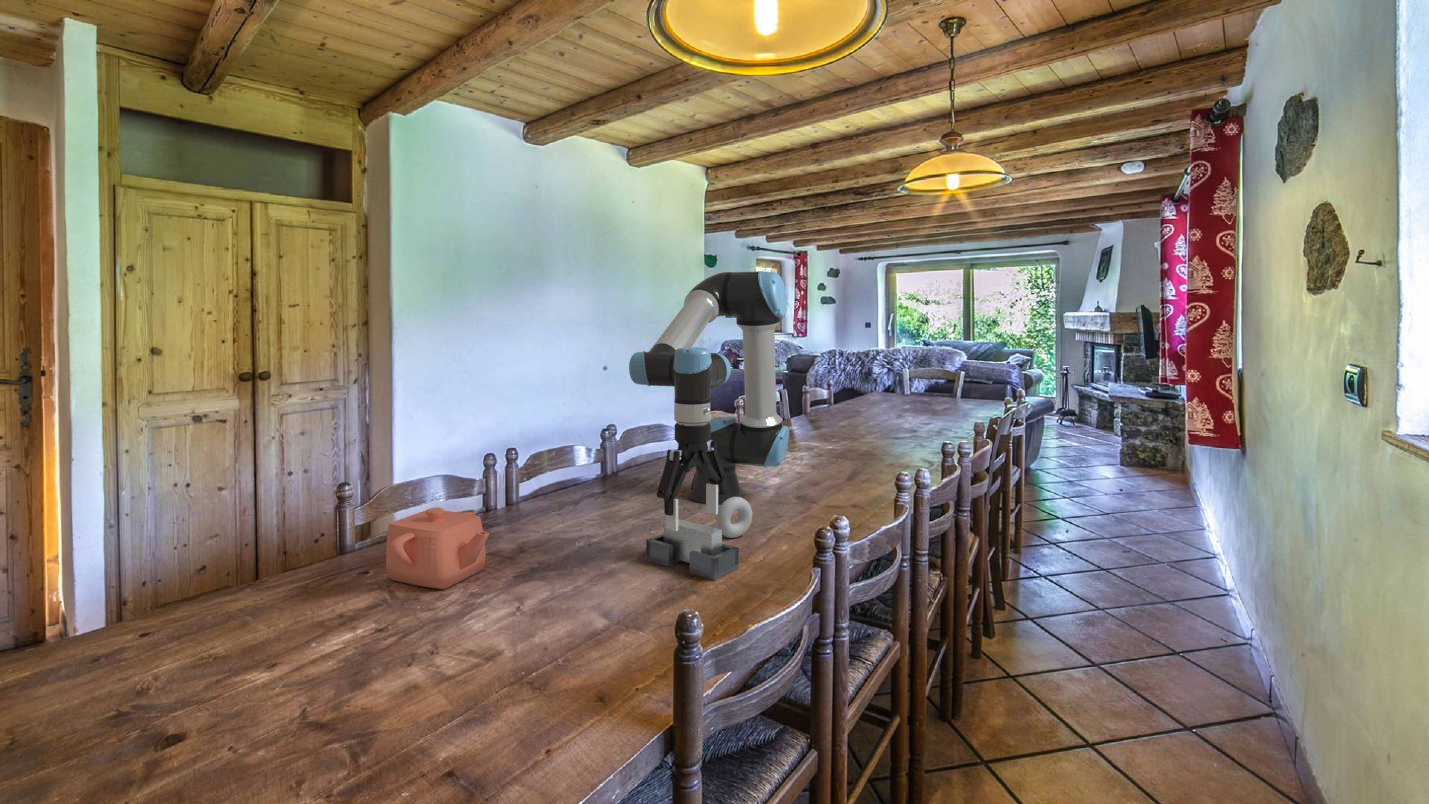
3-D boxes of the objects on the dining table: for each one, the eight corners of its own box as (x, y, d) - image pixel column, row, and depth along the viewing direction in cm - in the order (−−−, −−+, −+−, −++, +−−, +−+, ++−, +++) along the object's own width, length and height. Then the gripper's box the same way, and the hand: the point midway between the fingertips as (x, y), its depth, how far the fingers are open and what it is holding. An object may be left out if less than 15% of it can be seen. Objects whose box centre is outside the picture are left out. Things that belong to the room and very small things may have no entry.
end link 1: (671, 549, 154) (671, 530, 153) (693, 555, 150) (693, 536, 149) (646, 560, 147) (646, 540, 146) (668, 567, 143) (668, 546, 143)
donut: (721, 543, 158) (721, 501, 157) (712, 539, 161) (713, 498, 160) (755, 535, 164) (755, 495, 163) (746, 532, 167) (747, 492, 165)
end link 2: (714, 561, 146) (714, 541, 146) (738, 568, 143) (738, 547, 142) (689, 573, 140) (689, 552, 139) (714, 580, 136) (714, 559, 135)
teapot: (364, 590, 130) (360, 520, 128) (447, 553, 150) (444, 492, 148) (446, 607, 123) (443, 533, 121) (522, 566, 143) (520, 501, 141)
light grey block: (674, 550, 150) (674, 518, 149) (721, 564, 142) (722, 529, 141) (663, 555, 147) (663, 521, 146) (711, 569, 139) (711, 533, 138)
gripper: (667, 433, 129) (667, 541, 132) (741, 416, 149) (740, 509, 152) (637, 429, 133) (639, 533, 136) (714, 412, 153) (713, 503, 156)
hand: (692, 521), depth 144 cm, fingers open, 13 cm apart
